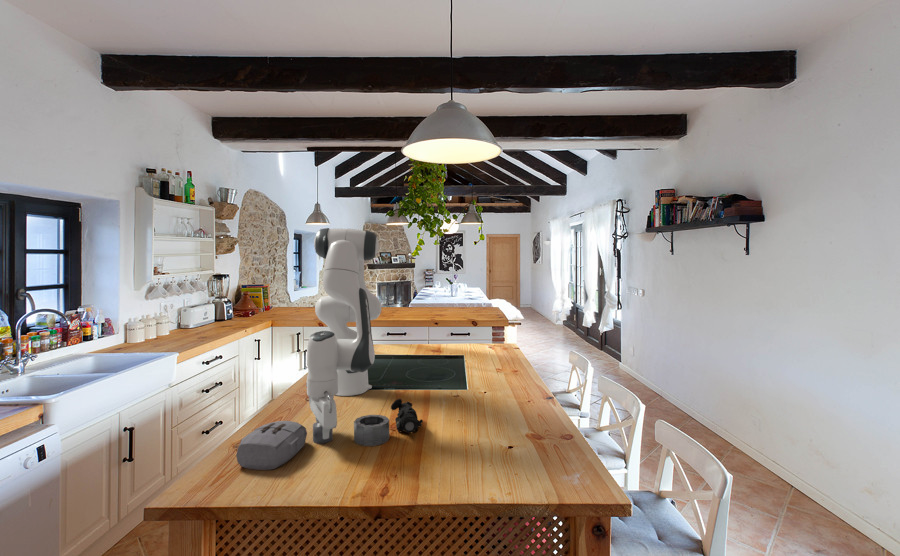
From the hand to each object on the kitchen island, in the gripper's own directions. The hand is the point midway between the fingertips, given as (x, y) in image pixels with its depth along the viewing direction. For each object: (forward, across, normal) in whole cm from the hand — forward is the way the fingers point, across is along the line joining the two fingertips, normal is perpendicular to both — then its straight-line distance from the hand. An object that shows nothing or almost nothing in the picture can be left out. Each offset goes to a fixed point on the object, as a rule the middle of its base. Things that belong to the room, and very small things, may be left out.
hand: (322, 433), depth 131 cm
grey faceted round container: (+2, -6, -13) cm, 14 cm away
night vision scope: (+2, -4, -25) cm, 26 cm away
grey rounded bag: (+2, -4, +14) cm, 14 cm away
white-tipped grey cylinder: (+2, 0, 0) cm, 2 cm away
